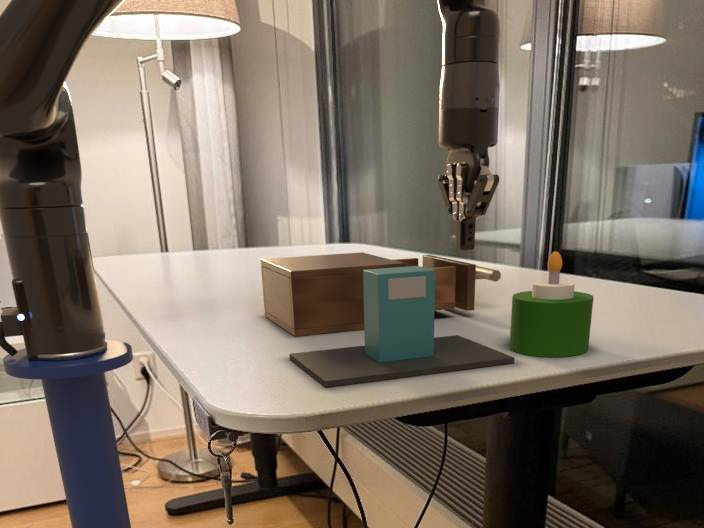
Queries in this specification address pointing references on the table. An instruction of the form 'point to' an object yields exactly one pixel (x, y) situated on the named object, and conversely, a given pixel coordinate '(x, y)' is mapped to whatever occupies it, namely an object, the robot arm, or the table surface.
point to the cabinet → (318, 291)
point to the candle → (551, 317)
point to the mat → (396, 362)
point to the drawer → (454, 280)
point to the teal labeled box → (399, 313)
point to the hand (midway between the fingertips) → (464, 249)
